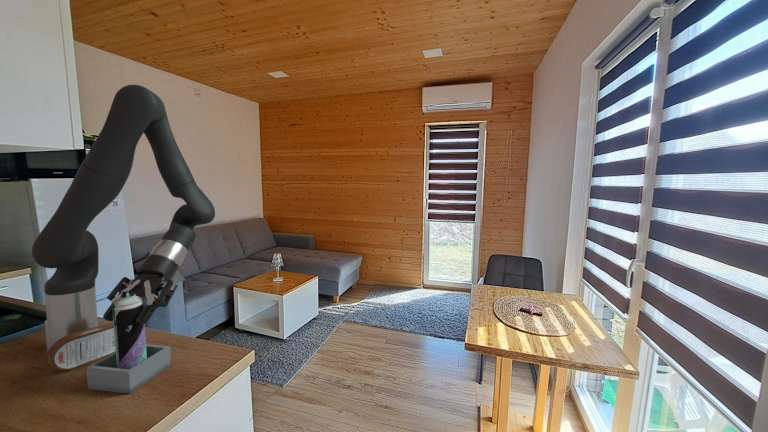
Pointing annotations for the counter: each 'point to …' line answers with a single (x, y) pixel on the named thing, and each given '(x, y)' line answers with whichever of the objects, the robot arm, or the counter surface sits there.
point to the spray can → (128, 331)
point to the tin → (82, 347)
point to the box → (128, 371)
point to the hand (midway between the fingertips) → (123, 321)
